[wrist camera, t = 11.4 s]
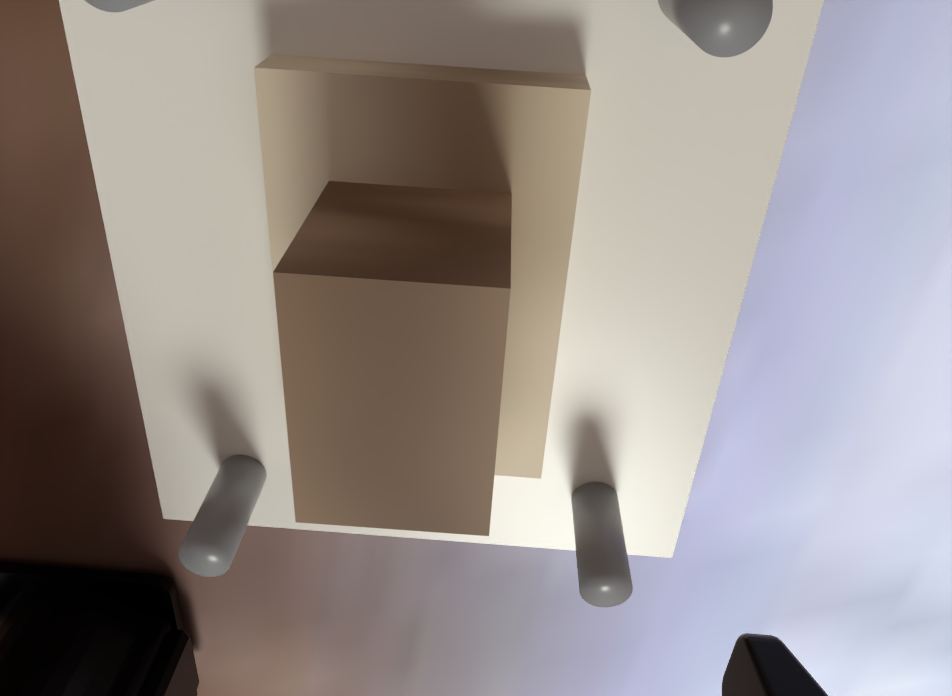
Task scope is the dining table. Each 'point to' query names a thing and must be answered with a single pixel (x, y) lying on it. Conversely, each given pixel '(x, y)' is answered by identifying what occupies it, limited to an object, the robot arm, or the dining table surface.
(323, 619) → the dining table surface
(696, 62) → the chassis
